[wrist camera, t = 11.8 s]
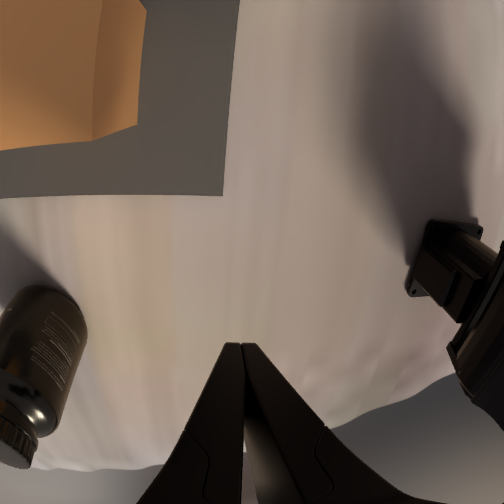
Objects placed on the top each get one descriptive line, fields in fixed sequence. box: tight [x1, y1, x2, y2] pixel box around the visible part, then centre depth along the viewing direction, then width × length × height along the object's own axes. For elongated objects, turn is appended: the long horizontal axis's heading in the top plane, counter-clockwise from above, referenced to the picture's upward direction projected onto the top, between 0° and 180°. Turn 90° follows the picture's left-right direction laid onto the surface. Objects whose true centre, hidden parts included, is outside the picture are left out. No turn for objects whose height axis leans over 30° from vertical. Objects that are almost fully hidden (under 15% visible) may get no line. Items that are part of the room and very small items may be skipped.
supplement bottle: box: [0, 285, 88, 469], centre depth 15 cm, size 7×7×12 cm
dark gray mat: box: [0, 0, 240, 199], centre depth 14 cm, size 16×14×1 cm
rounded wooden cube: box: [0, 0, 147, 151], centre depth 10 cm, size 6×6×7 cm
